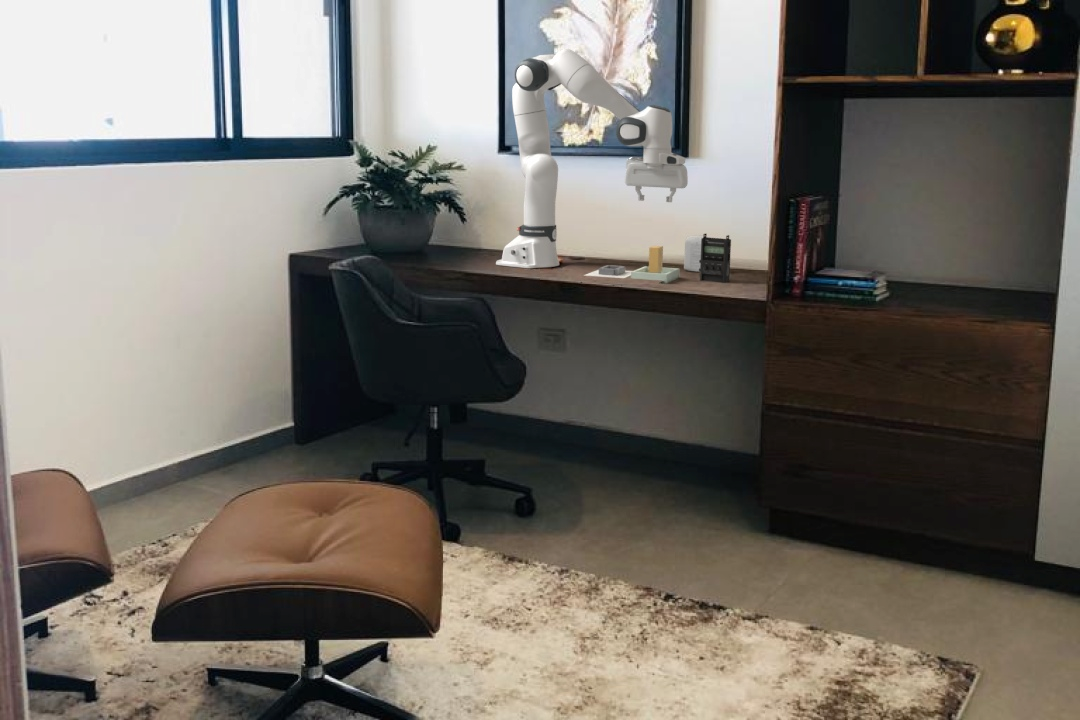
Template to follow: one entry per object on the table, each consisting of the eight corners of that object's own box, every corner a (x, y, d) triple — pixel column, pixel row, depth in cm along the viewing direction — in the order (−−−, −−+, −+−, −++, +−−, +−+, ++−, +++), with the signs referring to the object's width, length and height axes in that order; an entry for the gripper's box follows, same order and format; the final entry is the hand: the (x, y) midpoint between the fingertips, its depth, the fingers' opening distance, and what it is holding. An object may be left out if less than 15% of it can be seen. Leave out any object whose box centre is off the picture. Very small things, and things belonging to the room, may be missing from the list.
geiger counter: (695, 280, 359) (697, 234, 355) (701, 278, 362) (703, 232, 359) (725, 283, 353) (727, 236, 350) (731, 281, 357) (733, 235, 353)
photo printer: (714, 272, 377) (716, 235, 374) (709, 273, 373) (710, 237, 370) (687, 269, 382) (688, 233, 379) (682, 271, 379) (683, 234, 376)
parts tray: (630, 281, 356) (630, 272, 356) (644, 275, 369) (644, 266, 368) (666, 283, 352) (666, 274, 351) (679, 277, 364) (679, 268, 364)
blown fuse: (648, 278, 359) (649, 247, 356) (653, 276, 363) (654, 245, 361) (657, 278, 358) (658, 248, 355) (662, 276, 362) (662, 246, 360)
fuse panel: (583, 278, 362) (583, 269, 361) (600, 271, 376) (600, 262, 375) (623, 281, 356) (624, 272, 356) (639, 274, 371) (640, 265, 370)
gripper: (622, 156, 354) (621, 200, 358) (684, 159, 346) (682, 203, 350) (629, 156, 360) (627, 198, 363) (690, 158, 352) (688, 202, 355)
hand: (655, 201), depth 356 cm, fingers open, 8 cm apart
